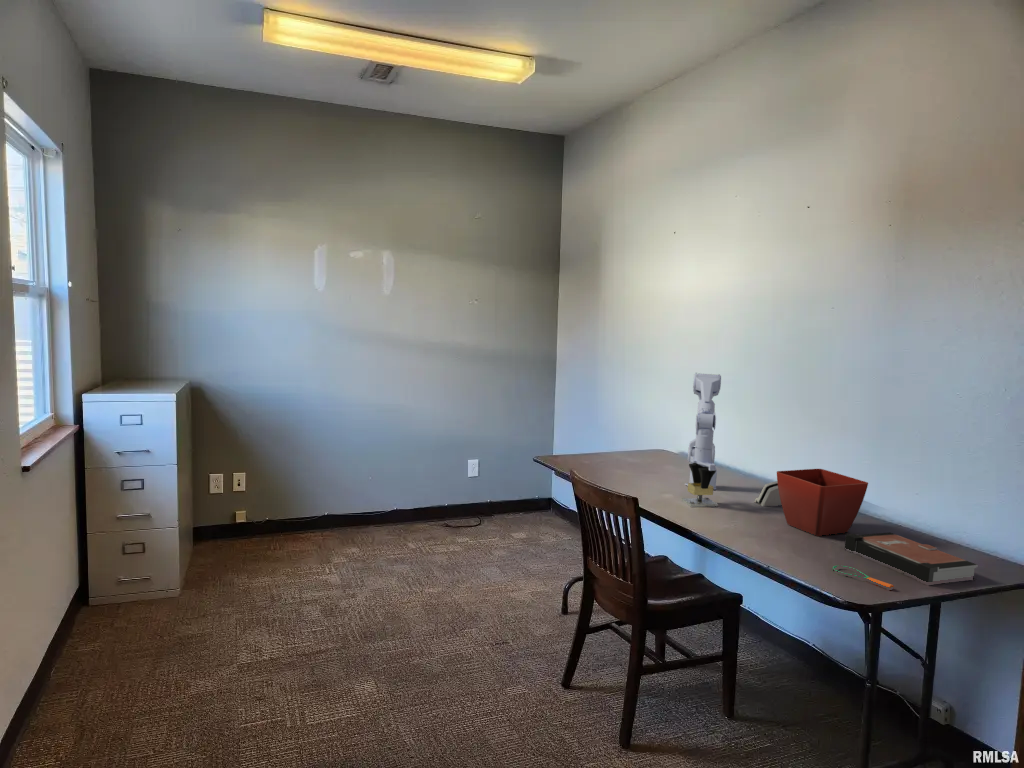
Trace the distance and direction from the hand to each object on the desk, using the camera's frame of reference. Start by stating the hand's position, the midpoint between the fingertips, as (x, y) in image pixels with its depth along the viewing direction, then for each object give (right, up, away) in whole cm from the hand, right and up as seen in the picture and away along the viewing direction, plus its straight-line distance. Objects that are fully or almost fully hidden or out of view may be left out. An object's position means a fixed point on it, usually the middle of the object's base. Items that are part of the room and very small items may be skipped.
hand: (700, 486), depth 232 cm
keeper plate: (0, -6, +1) cm, 6 cm away
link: (0, -2, 0) cm, 2 cm away
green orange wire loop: (+23, -14, -63) cm, 69 cm away
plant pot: (+30, -10, -22) cm, 39 cm away
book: (+42, -14, -50) cm, 67 cm away
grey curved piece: (+30, -8, +5) cm, 31 cm away
